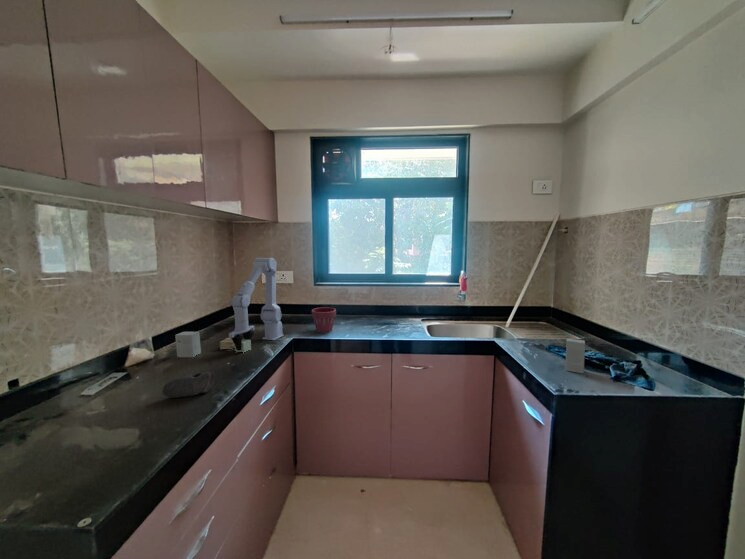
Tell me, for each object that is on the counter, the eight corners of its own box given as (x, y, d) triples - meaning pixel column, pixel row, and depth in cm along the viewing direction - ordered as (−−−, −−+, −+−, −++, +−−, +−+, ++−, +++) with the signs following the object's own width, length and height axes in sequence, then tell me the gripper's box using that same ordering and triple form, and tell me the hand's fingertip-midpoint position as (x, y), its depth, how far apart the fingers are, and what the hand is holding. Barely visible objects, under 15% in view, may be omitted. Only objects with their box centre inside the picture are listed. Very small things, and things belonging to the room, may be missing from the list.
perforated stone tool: (160, 403, 96) (158, 382, 95) (165, 395, 100) (163, 375, 100) (213, 394, 101) (212, 374, 100) (215, 388, 106) (214, 368, 105)
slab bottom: (229, 346, 152) (229, 341, 152) (239, 347, 150) (239, 342, 150) (220, 350, 147) (220, 345, 146) (230, 351, 145) (230, 346, 145)
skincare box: (583, 370, 117) (585, 340, 116) (583, 374, 114) (585, 343, 113) (565, 366, 121) (566, 337, 120) (564, 370, 117) (566, 340, 116)
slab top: (227, 342, 152) (226, 337, 151) (238, 342, 151) (238, 338, 151) (220, 346, 146) (220, 341, 145) (232, 346, 145) (232, 341, 145)
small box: (201, 353, 141) (199, 331, 140) (193, 357, 135) (191, 335, 134) (185, 353, 142) (183, 331, 141) (176, 357, 136) (174, 334, 135)
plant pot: (334, 334, 171) (334, 311, 169) (310, 334, 171) (309, 312, 169) (337, 327, 185) (337, 307, 184) (314, 327, 185) (314, 307, 183)
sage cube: (242, 348, 147) (242, 338, 146) (251, 349, 145) (250, 339, 145) (235, 352, 142) (234, 341, 142) (243, 353, 141) (243, 342, 140)
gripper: (245, 316, 150) (247, 342, 152) (222, 323, 137) (224, 352, 138) (257, 317, 148) (258, 344, 149) (235, 324, 134) (237, 353, 136)
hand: (243, 348), depth 144 cm, fingers closed on sage cube, 5 cm apart
